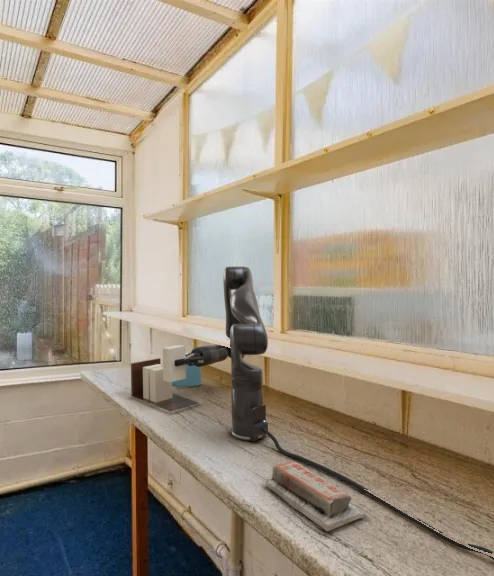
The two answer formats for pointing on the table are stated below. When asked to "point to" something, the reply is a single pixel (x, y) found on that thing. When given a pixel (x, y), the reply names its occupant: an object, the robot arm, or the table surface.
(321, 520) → the packaged product
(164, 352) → the upright ivory block
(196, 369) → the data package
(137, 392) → the dark wood bookend
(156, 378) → the cream rectangular block
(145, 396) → the white book
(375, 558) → the table surface
